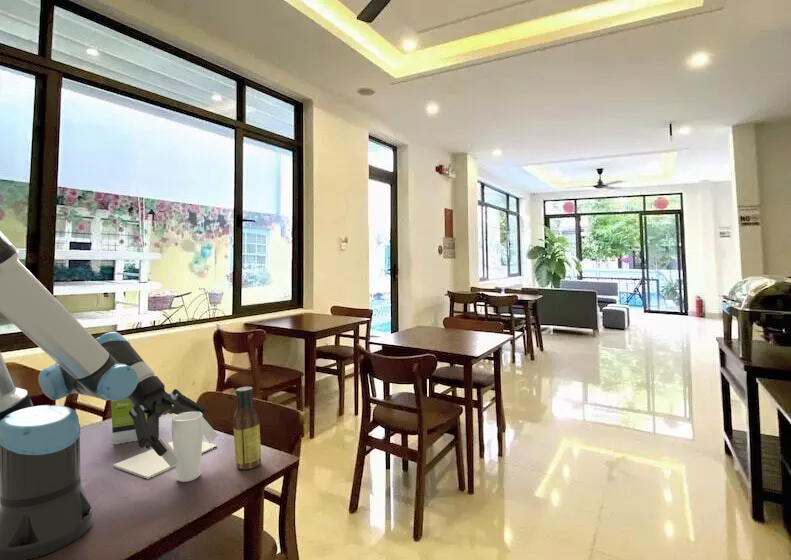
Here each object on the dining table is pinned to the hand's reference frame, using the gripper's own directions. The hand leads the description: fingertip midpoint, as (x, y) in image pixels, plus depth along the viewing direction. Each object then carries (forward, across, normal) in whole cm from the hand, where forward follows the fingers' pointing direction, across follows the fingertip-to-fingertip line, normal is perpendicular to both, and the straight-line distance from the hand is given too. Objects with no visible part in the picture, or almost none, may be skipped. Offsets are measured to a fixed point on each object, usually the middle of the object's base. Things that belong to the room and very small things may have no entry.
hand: (196, 450), depth 101 cm
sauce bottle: (+11, -8, +1) cm, 14 cm away
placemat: (-6, -9, -16) cm, 19 cm away
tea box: (-21, -21, -31) cm, 43 cm away
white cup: (+3, 0, -6) cm, 7 cm away
